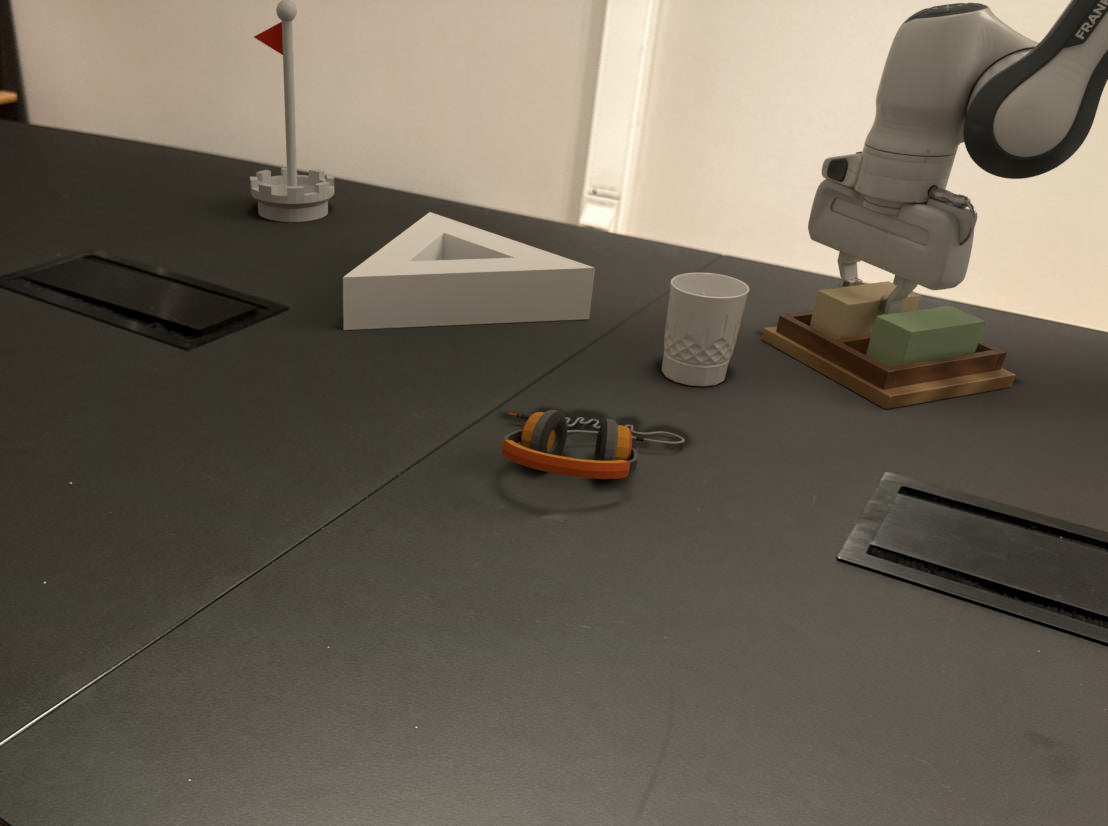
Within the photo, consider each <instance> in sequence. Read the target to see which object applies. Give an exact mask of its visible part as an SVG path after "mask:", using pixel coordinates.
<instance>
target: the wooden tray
mask: <svg viewBox="0 0 1108 826" xmlns="http://www.w3.org/2000/svg"><path fill="white" fill-rule="evenodd" d="M812 314H813V310H806V311H799V312H792V313H786V314H780V315H779V316H778V321H777V325H775V326H769V327H764V328H763V330H762V331H763V332H762V336H761V341H763V342H765V343H767V344H768V345H770V346H772V347H774V348H775V349H777V350H779V351H781V352H783V353H785V354H786V355H788V356H789V357H791V358H793V359H795V360H797V361H799V362H801V363H802V364H804V365H806V366H808V367H809V368H811V369H812V370H814V371H816V372H818V373H820V374H822V375H824V376H825V377H827V378H829V379H831V380H832V381H834V382H836V383H837V384H839V385H842V386H843V387H845V388H846V389H849V390H850V391H852V392H854V393H856V394H858V395H859V396H861V397H862V398H864V399H866V400H868V401H869V402H872V403H873V404H875V405H877V406H878V407H880V408H882V409H884V410H891V409H895V408H901V407H907V406H912V405H918V404H924V403H929V402H935V401H940V400H947V399H952V398H953V399H954V398H957V397H964V396H969V395H974V394H980V393H981V394H982V393H985V392H990V391H997V390H1003V389H1009V388H1012V386H1013V384H1014V381H1015V378H1016V375H1017V374H1016V373H1014V372H1011V371H1009V370H1007V369H1005V368H1003V365H1004V363H1005V359H1006V357H1007V354H1008V351H1006V350H1003V349H1001V348H1000V347H997V346H994V345H992V344H990V343H987V342H985V341H984V340H981V339H979V342H978V345H977V348H976V351H975V353H971V354H964V355H958V356H952V357H946V358H940V359H934V360H928V361H921V362H915V363H909V364H903V365H897V366H891V367H888V366H886V365H884V364H882V363H880V362H878V361H876V360H874V359H872V358H870V357H868V356H866V353H867V349H868V346H869V342H870V338H871V335H872V334H866V335H860V336H853V337H846V338H840V339H833V338H831V337H830V336H828V335H826V334H824V333H822V332H820V331H818V330H816V329H814V328H812V327H810V322H811V318H812Z"/></svg>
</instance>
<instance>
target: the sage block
mask: <svg viewBox="0 0 1108 826" xmlns="http://www.w3.org/2000/svg"><path fill="white" fill-rule="evenodd" d="M985 324H986V320H984V319H982V318H979V317H977V316H975V315H973V314H971V313H969V312H966V311H963V310H961V309H958V308H956V307H953V306H951V305H944V306H937V307H936V306H935V307H928V308H922V309H917V310H914V311H907V312H900V313H893V314H886V315H879V316H877V317H876V320H875V324H874V328H873V331H872V335H871V338H870V342H869V346H868V349H867V353H866V356H868V357H870V358H872V359H874V360H876V361H878V362H880V363H882V364H884V365H886V366H888V367H891V366H897V365H903V364H909V363H915V362H921V361H928V360H934V359H940V358H946V357H952V356H958V355H964V354H971V353H975V351H976V348H977V345H978V342H979V340H981V336H982V333H983V331H984V327H985Z"/></svg>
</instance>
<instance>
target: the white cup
mask: <svg viewBox="0 0 1108 826" xmlns="http://www.w3.org/2000/svg"><path fill="white" fill-rule="evenodd" d="M749 292H750V286H749V285H748V284H747V283H745V282H744V281H742V280H740V279H738V278H736V277H732V276H730V275H726V274H721V273H713V272H687V273H681V274H677V275H675V276H674V277H672V278H671V279H670V284H669V293H668V301H667V309H666V318H665V327H664V337H663V338H664V339H663V346H664V347H663V348H664V349H663V354H662V355H663V356H662V363H661V372H662V373H663V375H664V377H666V378H667V379H669V380H670V381H673V382H675V383H677V384H682V385H686V386H690V387H710V386H717V385H718V384H721V383H722V382H724V381H725V379H726V376H727V372H728V368H729V364H730V361H731V358H732V357H733V353H734V350H735V349H734V348H735V346H736V343H737V339H738V334H739V332H740V329H741V324H742V320H743V316H744V313H745V308H746V305H747V301H748V297H749Z"/></svg>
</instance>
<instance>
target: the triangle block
mask: <svg viewBox="0 0 1108 826" xmlns="http://www.w3.org/2000/svg"><path fill="white" fill-rule="evenodd" d="M595 273H596V267H594V266H591V265H587V264H585V263H582V262H579V261H576V260H573V259H571V258H567V257H565V256H561V255H558V254H555V253H553V252H551V251H548V250H547V251H546V250H545V249H544V250H543V249H541V248H539V247H538V248H537V247H535V246H532V245H529V244H526V243H523V242H520V241H517V240H514V239H511V238H508V237H505V236H502V235H500V234H497V233H493V232H490V231H487V230H484V229H481V228H478V227H475V226H472V225H470V224H466V223H464V222H461V221H458V220H455V219H452V218H449V217H446V216H443V215H440V214H437V213H434V212H431V211H429V212H428V213H427V214H425V215H424V216H423V217H421V218H420V219H419V220H417V221H415V222H414V223H413V224H412V225H411V226H409V227H408V228H406V229H405V230H404V231H402V232H401V233H400V234H399V235H397V236H396V237H394V238H393V239H392V240H390V241H389V242H388V243H387V244H385V245H383V247H381V248H379V250H377V251H376V252H374V253H373V254H371V256H369V257H368V258H366V259H365V260H364V261H363V262H361V263H360V264H359V265H356V267H355V268H353V269H352V270H351V271H349V272H348V273H347V274H346V275H344V276H342V308H343V309H342V312H343V313H342V314H343V317H342V318H343V319H342V320H343V321H342V322H343V323H342V324H343V325H342V326H343V331H352V330H353V331H354V330H355V331H357V330H373V329H374V330H375V329H399V328H401V329H402V328H418V327H419V328H420V327H421V328H422V327H442V326H443V327H444V326H465V325H466V326H467V325H488V324H490V325H491V324H510V323H512V324H513V323H533V322H535V323H536V322H556V321H557V322H558V321H577V320H578V321H579V320H590V317H591V316H590V315H591V308H592V307H591V306H592V299H593V292H594V291H593V290H594V281H595Z"/></svg>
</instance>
